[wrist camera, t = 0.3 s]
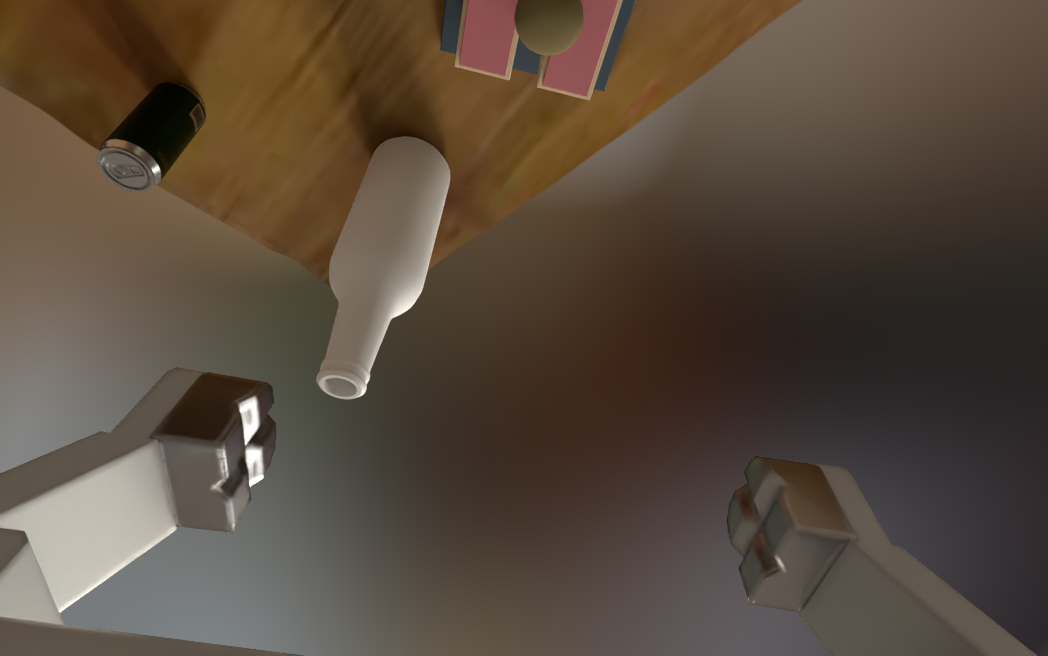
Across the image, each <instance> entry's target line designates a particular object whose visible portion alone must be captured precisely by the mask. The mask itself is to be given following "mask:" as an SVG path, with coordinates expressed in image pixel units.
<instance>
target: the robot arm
mask: <svg viewBox="0 0 1048 656" xmlns="http://www.w3.org/2000/svg"><path fill="white" fill-rule="evenodd" d="M273 403H274V397H273V389H272V386H271V385H270V384H268V383H267V382H261V381H255V380H249V379H244V378H238V377H233V376H226V375H221V374H215V373H209V372H208V373H205V372H200V371H195V370H188V369H183V368H174V369H171V370H169V371H167V372H166V373H165V374H164V375H163V377H161V379H160V380H159V381H158V382H157V383H156V384H155V385H154V386H153V387H152V388H151V389H150V390H149V392H148V393H147V394H146V395H145V396H144V397H143V398H142V399H141V400H140V401H139V403H137V405H136V406H135V407H134V408H133V409H132V410H131V411H130V412H129V413H128V414H127V415H126V417H125V418H124V419H123V420H122V421H121V422H120V423H119V424H118V425H117V426H116V427H115V428H114V430H113V431H112V432H111V433H108V432H98V433H96V434H93V435H91V436H88V437H86V438H84V439H81V440H79V441H76V442H74V443H72V444H69V445H67V446H65V447H62V448H60V449H57V450H55V451H53V452H50V453H48V454H46V455H43V456H41V457H38V458H36V459H34V460H31V461H29V462H27V463H24V464H22V465H19V466H17V467H15V468H12V469H10V470H7V471H5V472H3V473H0V656H302V655H295V654H287V653H279V652H272V651H263V650H256V649H248V648H241V647H233V646H225V645H217V644H210V643H201V642H194V641H186V640H179V639H171V638H163V637H155V636H148V635H140V634H132V633H124V632H116V631H108V630H101V629H93V628H86V627H77V626H70V625H65V624H64V622H63V619H62V617H61V615H60V612H61V611H63V610H64V609H65V608H67V607H68V606H70V605H71V604H72V603H74V602H75V601H76V600H78V599H79V598H81V597H82V596H84V595H85V594H87V593H88V592H89V591H91V590H92V589H94V588H95V587H96V586H98V585H99V584H100V583H102V582H103V581H105V580H106V579H108V578H109V577H110V576H112V575H113V574H115V573H116V572H117V571H119V570H120V569H122V568H123V567H125V566H126V565H127V564H129V563H130V562H132V561H133V560H134V559H136V558H137V557H138V556H140V555H141V554H143V553H144V552H146V551H147V550H148V549H150V548H151V547H153V546H154V545H156V544H157V543H158V542H160V541H161V540H162V539H164V538H165V537H167V536H168V535H170V534H171V533H172V532H174V531H175V530H176V529H177V528H176V526H178V527H187V528H196V529H206V530H214V531H224V532H232V533H233V531H234V529H235V527H236V526H237V524H238V522H239V520H240V519H241V517H242V515H243V513H244V511H245V510H246V508H247V506H248V504H249V503H250V501H251V493H250V486H251V485H252V484H254V483H256V482H257V481H259V480H261V479H263V477H264V475H265V473H266V471H267V469H268V467H269V466H270V463H271V459H272V456H273V453H274V449H275V443H276V423H275V422H274V421H273V419H272V418H271V417H270V416H269V415H268V414H267V413H268V412H269V410H270V408H271V407H272V405H273ZM744 473H745V476H746V479H747V482H748V483H747V484H745V485H744V486H742V487H740V488H739V489H737V490H735V492H734V494H733V497H732V499H731V501H730V503H729V508H728V516H727V525H728V534H729V537H730V541H731V544H732V546H733V547H734V548H735V549H736V550H737V551H738V552H739V553H740V554H741V555H742V556H743V557H744V559H743V561H742V563H741V564H740V566H739V571H740V575H741V578H742V581H743V584H744V588H745V591H746V594H747V598H748V601H749V604H753V605H759V606H766V607H771V608H777V609H783V610H789V611H795V612H801V613H800V616H801V617H802V618H803V620H804V621H805V622H806V623H807V625H808V626H809V627H810V628H811V629H812V631H813V632H814V633H815V634H816V636H817V637H818V638H819V639H820V640H821V642H822V643H823V644H824V645H825V646H826V648H827V649H828V650H829V651H830V653H831V654H832V655H833V656H1037V655H1035V654H1034V653H1033V652H1032V651H1030V650H1029V649H1028V648H1027V647H1025V646H1024V645H1023V644H1022V643H1020V642H1019V641H1018V640H1017V639H1015V638H1014V637H1013V636H1012V635H1010V634H1009V633H1008V632H1007V631H1005V630H1004V629H1003V628H1002V627H1000V626H999V625H998V624H997V623H995V622H994V621H993V620H991V619H990V618H989V617H987V615H985V614H984V613H982V612H981V611H980V610H979V609H978V608H977V607H975V606H974V605H973V604H971V603H970V602H969V601H968V600H966V599H965V598H964V597H963V596H961V595H960V594H959V593H958V592H956V591H955V590H954V589H953V588H951V587H950V586H949V585H948V584H946V583H945V582H944V581H943V580H941V579H940V578H939V577H938V576H936V575H935V574H934V573H933V572H931V571H930V570H929V569H928V568H926V567H925V566H924V565H923V564H921V563H920V562H919V561H918V560H916V559H915V558H914V557H913V556H911V555H910V554H909V553H907V552H906V551H905V550H904V549H902V548H901V547H896V546H891V544H890V542H889V540H888V539H887V537H886V535H885V533H884V532H883V530H882V528H881V527H880V525H879V523H878V521H877V519H876V518H875V516H874V514H873V512H872V511H871V509H870V507H869V505H868V504H867V502H866V500H865V498H864V497H863V495H862V493H861V491H860V490H859V488H858V486H857V484H856V483H855V481H854V479H853V477H852V476H851V474H850V473H849V472H848V471H847V470H845V469H844V468H842V467H835V466H827V465H819V464H808V463H801V462H794V461H787V460H780V459H773V458H766V457H759V456H755V457H754V458H753V459H752V460H751V461H750V462H749V464H748V466H747V468H746V470H745V471H744Z"/></svg>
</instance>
